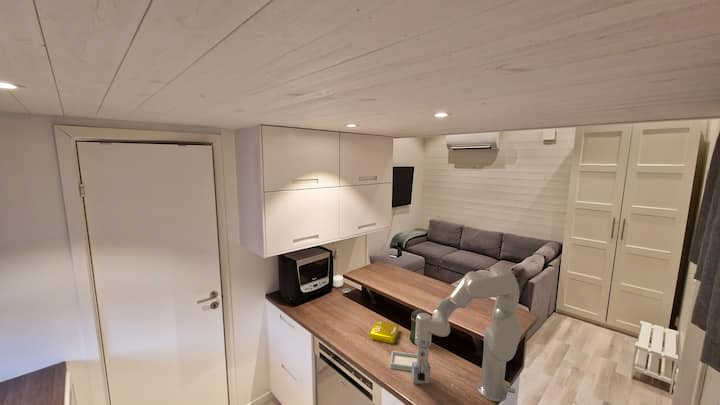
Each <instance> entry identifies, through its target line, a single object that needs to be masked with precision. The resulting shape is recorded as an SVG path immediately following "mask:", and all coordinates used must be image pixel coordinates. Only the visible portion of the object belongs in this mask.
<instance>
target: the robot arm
mask: <svg viewBox="0 0 720 405" xmlns="http://www.w3.org/2000/svg"><path fill="white" fill-rule="evenodd" d="M488 273H489V277H483V276H482V274H480V273H479V272H477V271H474V270H472V271H469V272H467V273H465V275H464V276H463V277H462V279H461V280H460V282H459V283H458V284H457V286H456V287H455V288H454V289H453V291H452V292H451V294H449V295H448V296H446V297H445V298H444V299H442V301H440V302H439V304H438V305H437V307H436V308H435V309H434V311H433V313H432V315H431V314H429V313H428V312H427V313H428V314H427V313H420V314H418V315H417V317H416V331H415V344H414V345H416V354H417V365H418V367H419V372H418V380H420V381H425V368H428V363H429V356H430V355H429V353H430V352H429V351H430V350H429V349H430V347H431V346H432V338H433V337H432V335H434V336H438V337H441V338H444V337H448V336H449V334H450V333H451V326H450V322H449V319H450V317H451V316H452V314H453V313H454V312H455V311H456V310H457V309H463V310H464V309H467V308H468V306H470V305H471V303H472V301H473V300H474V299H476V300H484V299H489V298H495V297H496V299H495V301H494V302H495V303H494V304H493V305H494V306H493V307H492V308H493V309H492V310H491V311H492V312H491V319H492V322H493V324H489V325H487V326H486V327H485V329H484V332H483V354H482V363H481V364H482V365H481V377H480V380H478V381H477V383H476V388H477V392H478V393H479V394H480V395H481V396H482V397H483V398H485V399H487V400H489V401H491V402H494V403H495V402H499V403H501V402H503V401H505V400H506V399H507V396H508V394H509V393H511V394H515V393H516V389H515V388H513V387H511V384H507V383H505V376H506V367H507V362H509V361H511V360H512V359H513V358H514V356H515V355H516V352H517V350H518V346H519V343H520V340H521V337H522V336H521V335H522V324H521V321H520V320H519V318H518V317H517V314H516V313H517V309H518V305H519V301H520V300H519V299H520V286H519V283H518V281H517V278H516V276H515V274H514V273H513V271H511V270H510V269H509V268H508V267H507V266H506V265H504V264H501V263H496V264H495V263H494V264H493V265H492V266H491V267H490V269H489V272H488ZM420 364H421V366H420ZM420 367H421V370H420Z"/></svg>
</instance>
